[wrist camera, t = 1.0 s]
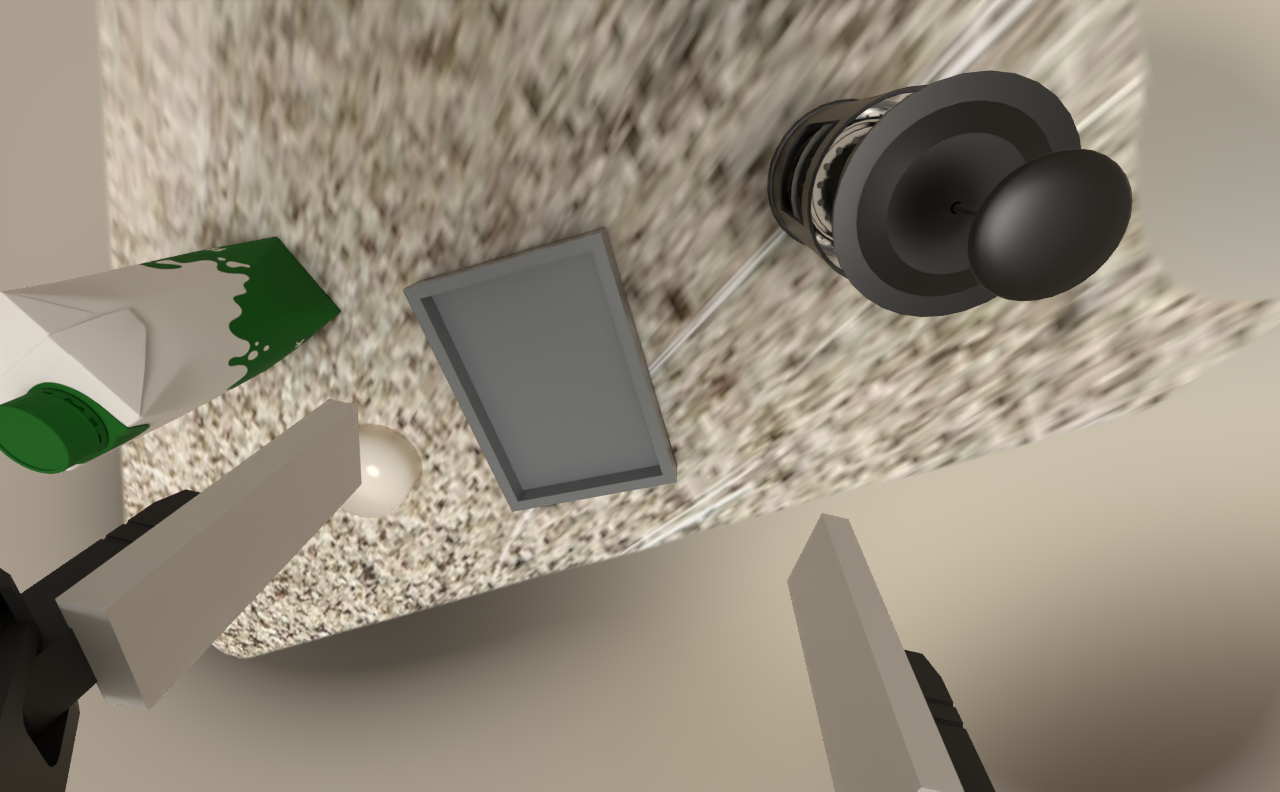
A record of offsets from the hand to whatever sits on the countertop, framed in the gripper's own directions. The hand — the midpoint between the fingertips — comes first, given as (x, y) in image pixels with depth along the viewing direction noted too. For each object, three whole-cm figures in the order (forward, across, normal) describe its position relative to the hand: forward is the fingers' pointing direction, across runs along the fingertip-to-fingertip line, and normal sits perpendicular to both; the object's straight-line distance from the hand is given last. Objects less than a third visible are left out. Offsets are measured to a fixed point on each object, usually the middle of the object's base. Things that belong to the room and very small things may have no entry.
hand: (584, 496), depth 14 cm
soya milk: (+28, -29, -9) cm, 41 cm away
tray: (+27, -6, -11) cm, 30 cm away
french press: (+28, +12, +10) cm, 31 cm away
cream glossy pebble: (+27, -21, -24) cm, 42 cm away
